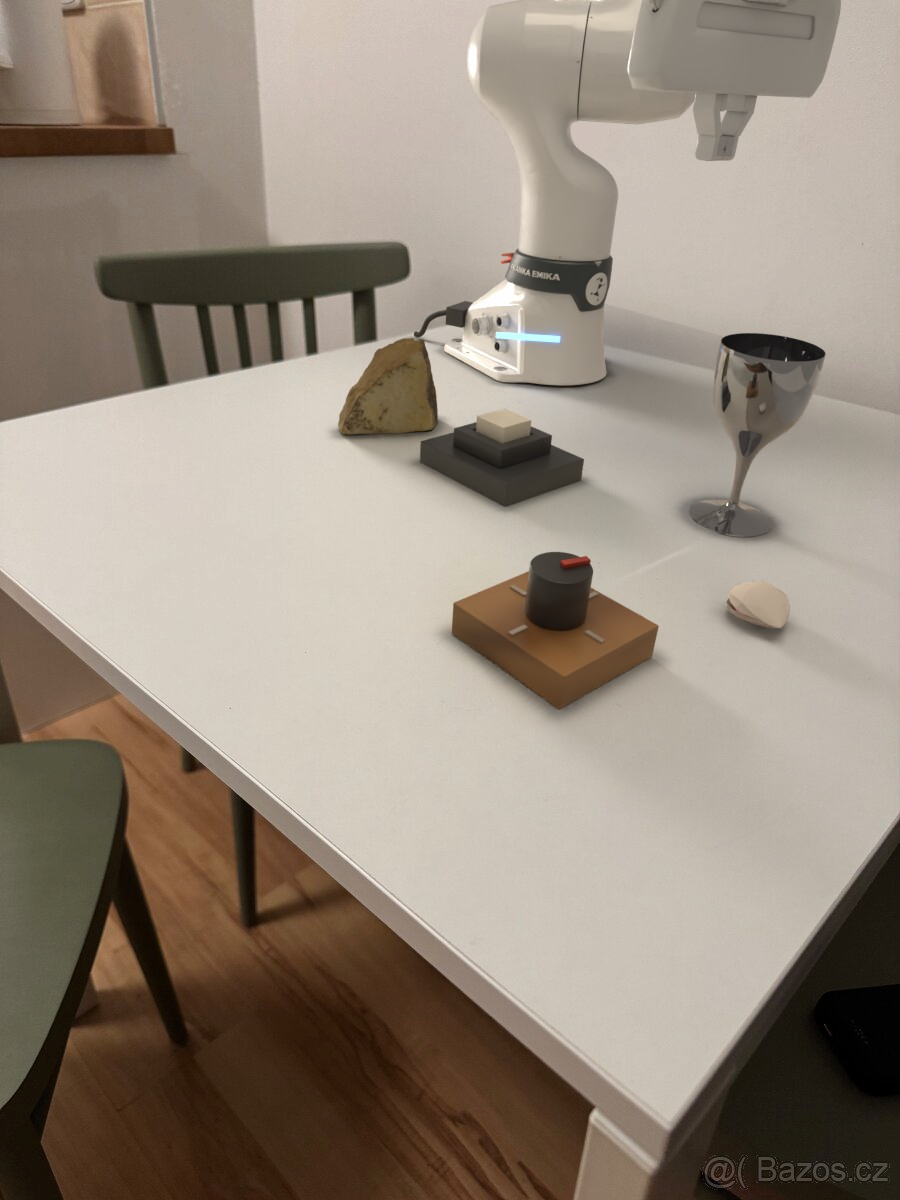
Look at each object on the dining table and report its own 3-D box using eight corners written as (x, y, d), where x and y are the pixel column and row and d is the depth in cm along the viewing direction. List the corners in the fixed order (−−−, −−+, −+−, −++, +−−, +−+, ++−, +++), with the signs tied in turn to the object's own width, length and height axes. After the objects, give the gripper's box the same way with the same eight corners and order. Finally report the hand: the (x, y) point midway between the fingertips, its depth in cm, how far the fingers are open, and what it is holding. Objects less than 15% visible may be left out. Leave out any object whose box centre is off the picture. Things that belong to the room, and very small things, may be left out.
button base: (419, 462, 81) (420, 422, 79) (494, 440, 87) (497, 403, 85) (505, 507, 74) (509, 464, 71) (581, 480, 79) (587, 440, 77)
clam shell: (769, 602, 62) (778, 573, 61) (803, 641, 58) (813, 610, 57) (715, 605, 61) (722, 575, 60) (745, 644, 57) (754, 613, 56)
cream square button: (475, 433, 78) (476, 415, 77) (503, 426, 80) (504, 408, 79) (501, 445, 76) (503, 427, 75) (529, 437, 78) (531, 419, 77)
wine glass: (666, 504, 76) (700, 335, 68) (737, 493, 78) (778, 330, 70) (720, 544, 69) (765, 364, 61) (796, 531, 72) (848, 357, 64)
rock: (321, 423, 82) (421, 420, 80) (325, 338, 83) (423, 333, 81) (354, 453, 93) (442, 451, 91) (356, 378, 94) (444, 374, 92)
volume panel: (451, 633, 57) (453, 600, 55) (543, 592, 62) (547, 560, 60) (559, 709, 50) (564, 674, 49) (652, 656, 55) (659, 623, 54)
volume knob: (543, 635, 52) (550, 583, 50) (513, 603, 56) (519, 552, 53) (597, 623, 54) (606, 572, 52) (566, 592, 57) (573, 543, 55)
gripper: (697, -76, 54) (658, 166, 61) (869, -40, 64) (818, 162, 72) (624, -68, 58) (596, 157, 65) (797, -36, 69) (756, 155, 76)
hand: (714, 160), depth 69 cm, fingers closed
